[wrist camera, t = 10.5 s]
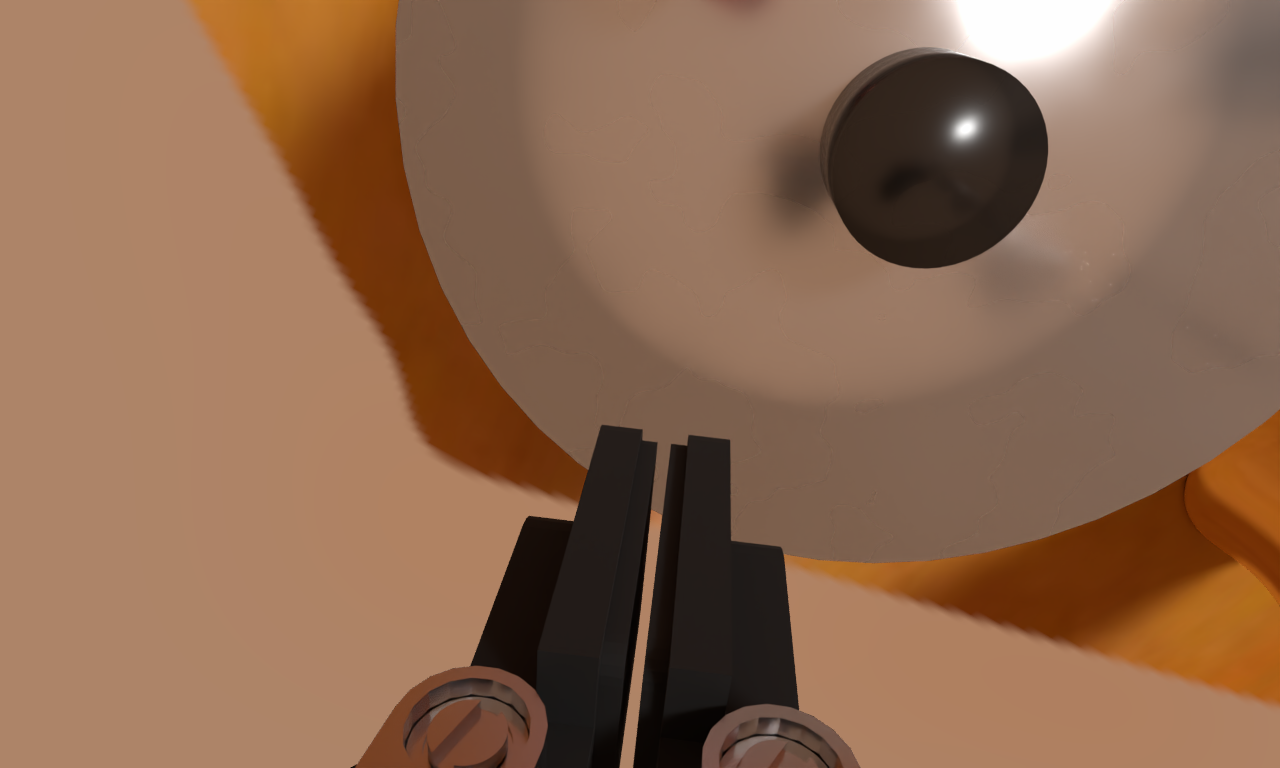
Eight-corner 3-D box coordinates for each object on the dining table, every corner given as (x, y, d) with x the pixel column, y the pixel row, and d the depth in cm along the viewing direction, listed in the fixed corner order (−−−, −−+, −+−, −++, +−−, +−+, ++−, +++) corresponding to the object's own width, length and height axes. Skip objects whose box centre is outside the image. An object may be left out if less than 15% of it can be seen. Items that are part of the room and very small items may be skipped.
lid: (1756, -467, 11) (2225, -660, 7) (1231, 544, 19) (1344, 671, 15) (412, -556, 11) (288, -774, 8) (449, 459, 19) (394, 564, 16)
